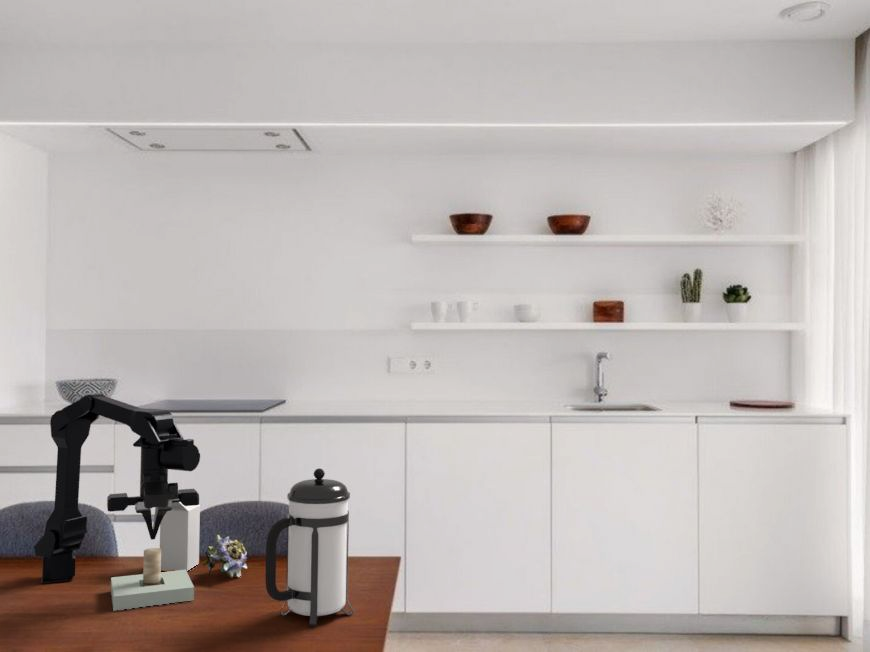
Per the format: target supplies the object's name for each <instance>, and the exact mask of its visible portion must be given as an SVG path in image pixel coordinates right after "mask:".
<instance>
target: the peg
mask: <svg viewBox="0 0 870 652" xmlns="http://www.w3.org/2000/svg"><path fill="white" fill-rule="evenodd" d="M142 565H143V569H142V570H143V572H142V574H143V587H144V586H153V585H160V583H161V549H160V547H150V548H146V549H144V550H143V564H142Z"/></svg>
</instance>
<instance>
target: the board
mask: <svg viewBox="0 0 870 652" xmlns="http://www.w3.org/2000/svg"><path fill="white" fill-rule="evenodd" d="M110 594H111V595H110V596H112V597H111V603H112V609H113V612H117V610H118V611H125V610H124V609H127V610H133V609H132V608H135V609H140V608H139V607H143V608H147V607H146V606H151V607H154V606H153V605H159V606H163V605H162V604H167V605H170V604H169V603H175V602H183V601H191V600H195V586H194V584H193V582H192V580H191V578H190V576H189V572H187V571H186V570H177V571H167V572H161V583H160V585H153V586H144V587H143V573H141V574H132V575H131V574H130V575H123V576H122V575H121V576H114V577H110ZM191 602H192V601H191ZM183 603H184V602H183ZM175 604H176V603H175Z"/></svg>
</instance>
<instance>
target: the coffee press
mask: <svg viewBox="0 0 870 652" xmlns="http://www.w3.org/2000/svg"><path fill="white" fill-rule="evenodd" d="M325 475H326V473H325V471H324V469H322V468H316V469H315V470H314V472H313V477H314V479H313V478H312V479H305V480H301V481H298V482H296V483H295V484H294V485H292V487H291V488H290V491H289V492H288V493H287V496H286V497H287V498H286V499H287V501H288V502H289V503H288V512H287V517H284V518H282V519H279V520H278V521H276V522H275V523H274V524H273V525H272V527H271V529H270V530H269V532H268V534H267V535H268V536H267V538H266V546H265V547H266V549H265V588H266V591H267V594H268V596H269V597H270V598H271V599H273V600H276V601H280V602H284V601H285V603H284V604H283V605H282V607H281V609H280V610H279V611H280V612H279V614H280V615H281V616H283V617H285V616H287V615H288V614H289V613H290V612H293V613H295V614H298V615H301V616H307V617H309V627H311V628H315V627H316V628H317V626H318V619H319V617H321V616H322V617H323V616H328V615H331V614H335V613H337V612H339V611H342V612H343V613H344V614H345V615H346V616H348V617H349V616H352V615H353V613H354V607H353V606H352V605H351V603H350V602H349V598H348V597H349V596H348V595H349V591H348V590H349V589H348V588H349V535H350V534H349V532H350V530H349V528H350V526H349V525H350V523H349V522H350V519H349V517H350V512H349V500H350V497H351V493H350V492H349V491H348V488H347V487H346V484H344V483H343V482H341V481H338V480H335V479H327V478H324V477H325ZM285 529H287V532H286V533H287V537H286V538H287V541H286V590H284V591H279V589H278V587H277V582H276V581H277V580H276V578H277V576H276V574H277V543H278V542H277V541H278V539H279V538H278V537H279V536H280V534H281V532H282V531H283V530H285ZM346 604H347V605H348V607H349V608H350V610H351V612H348V611H347V610H346V609H345V608H344V607H345V606H346ZM286 605H287V606H288V608H289V610H288V611H286V612H283V609H284V608H285V606H286Z"/></svg>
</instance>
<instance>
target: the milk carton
mask: <svg viewBox="0 0 870 652" xmlns="http://www.w3.org/2000/svg"><path fill="white" fill-rule="evenodd" d="M171 507H172V510H171V511H167V512H166V514H165V515H164V517H163V519H162V521H161V523H160V526H159V548H160V549H161V570H175V571H177V570H186V571H188V570H190V569H191V568H193V567H194V566H196V565H198V564H199V563H200V529H201V528H200V519H201V517H200V516H201V504H200V503H199V505H193V506H184V505H183V504H182V503H181V502H173V503H172V504H171ZM199 565H200V564H199ZM199 565H198V566H199ZM196 567H197V566H196ZM193 569H194V568H193ZM190 571H191V570H190Z"/></svg>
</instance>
